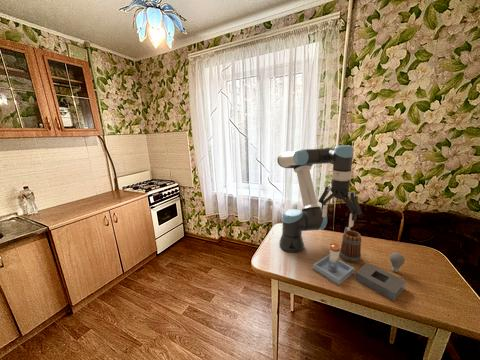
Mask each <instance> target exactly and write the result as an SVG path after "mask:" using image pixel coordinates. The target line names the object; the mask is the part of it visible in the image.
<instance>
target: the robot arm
mask: <svg viewBox="0 0 480 360" xmlns="http://www.w3.org/2000/svg"><path fill="white" fill-rule="evenodd" d="M353 157H354V147H353V145H345V144H342V145H341V144H340V145H336V146H335V147H334V148H332V147H322V148H312V149H311V148H307V149H304V148H303V149H296V150H295V151H293V150H292V151H284V152H282V153H280V154H279V155H278V157H277V163H278V165H279V166H280V167H281V168H284V169H293V172H294V173H295V174H296V176H297V180H298V181H297V182H298V187H299V191H300V195H301V200H302V205H303V207H302V209H298V208H297V209H296V208H291V209H287V210H285V211H284V212H283V213H282V219H281V221H282V228H281V229H282V233H281V237H280V239H279V248H280V249H281V250H283V251H284V252H287V253H293V254H295V253H301V252H302V251H303V250H304V249H305V243H304V240H303V236H302V232H309V231H320V230H324V229H325V228H326V227H327V224H328V205H329V204H328V202H330V201H331V200H332V199H333V198H335V199H338V200H342V201H343V202H344V203H345V205H346V206H347V208H348V210H349V211H350V213H349V217H348V218H349V219H348V227H349V228H352V227H354V223H355V221H356V220H357V216H358V215H361V214H362V208H361V206H360V204H359V200H358V198H357V192H356V191H353V192H352V191H350V184H351V183H350V182H351V181H350V180H351V177H352V176H351V175H352V167H353V159H354V158H353ZM320 164H321V165H323V164H329V165H332V166H333V167H332V175H331V178H332V179H331V186H330V185H327V186H325V187H324V191H323V193H322V194H321V196H320V197H319V199H318V201H317V197H316V193H315V188H314V183H313V180H312V173H311V169H312V167H313V166H314V165H320ZM330 192H331V193H330ZM329 193H330V194H329ZM328 195H329V196H328ZM326 197H327V198H326ZM318 203H320V204H321V206H320V205H318Z"/></svg>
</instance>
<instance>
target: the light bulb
mask: <svg viewBox="0 0 480 360" xmlns="http://www.w3.org/2000/svg"><path fill="white" fill-rule="evenodd" d="M389 261H390V262H391V271H392V272H396V273H398V272H399V270H400V268H401V266H403V265H405V262H406V260H405V256H404V255H403V254H402V253H400V252H392V253H391V254H390V255H389Z"/></svg>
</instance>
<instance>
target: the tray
mask: <svg viewBox="0 0 480 360" xmlns="http://www.w3.org/2000/svg"><path fill="white" fill-rule="evenodd" d="M328 264H329V254H326V256H324V257H322V258H321V259H319V260H318V261H316V262H315V263H313V264H312V270H313V271H314V272H315V273H317V274H318V275H319V274H320V276H323V277H324V278H326V279H328V280H329V281H330V282H331V283H333V284H335V285H337V286H340V285H341V284H342V283H344V282H345V281H346V280H347V279H348V278H350V277H351V276H352V275H353V274H355V273H354V272H355V267H353V266H351V265H349V264H348V263H346V262H344V261H342V260H338V271H337V272H336V273H332V272H330V271H329V270H328Z"/></svg>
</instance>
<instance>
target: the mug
mask: <svg viewBox="0 0 480 360" xmlns="http://www.w3.org/2000/svg"><path fill="white" fill-rule="evenodd" d="M341 240H342V242H341V246H340V250H339V257H340V258H341V259H342V260H344V261H345V262H347V263H354V264H355V263H359V262H360V261H361V258H362V257H361V256H362V253H361V251H362V249H361V245H362V235H361V233H359V232H358V231H355V230H352V229H351V227H349V226H348V227H347V226H345V228H344V231H343V235H342V239H341Z"/></svg>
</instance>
